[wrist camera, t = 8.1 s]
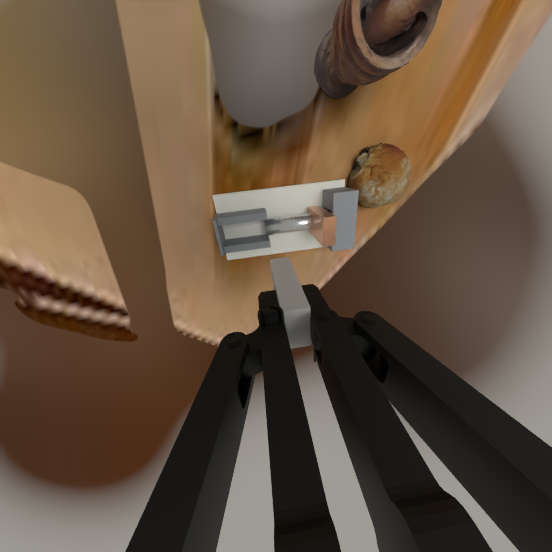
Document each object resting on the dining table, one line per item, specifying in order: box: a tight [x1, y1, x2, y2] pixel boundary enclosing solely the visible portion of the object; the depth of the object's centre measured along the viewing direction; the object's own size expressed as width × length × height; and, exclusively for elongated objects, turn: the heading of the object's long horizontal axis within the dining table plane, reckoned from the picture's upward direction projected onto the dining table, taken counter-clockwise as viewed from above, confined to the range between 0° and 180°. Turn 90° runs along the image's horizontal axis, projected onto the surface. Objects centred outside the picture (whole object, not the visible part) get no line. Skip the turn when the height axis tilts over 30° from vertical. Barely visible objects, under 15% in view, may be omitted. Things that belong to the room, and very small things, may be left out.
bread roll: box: [348, 143, 411, 208], centre depth 36 cm, size 10×10×8 cm
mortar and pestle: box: [314, 0, 442, 98], centre depth 21 cm, size 12×9×20 cm
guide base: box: [212, 179, 359, 260], centre depth 36 cm, size 12×23×6 cm, turn 96°
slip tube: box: [264, 206, 337, 246], centre depth 35 cm, size 4×14×9 cm, turn 96°
